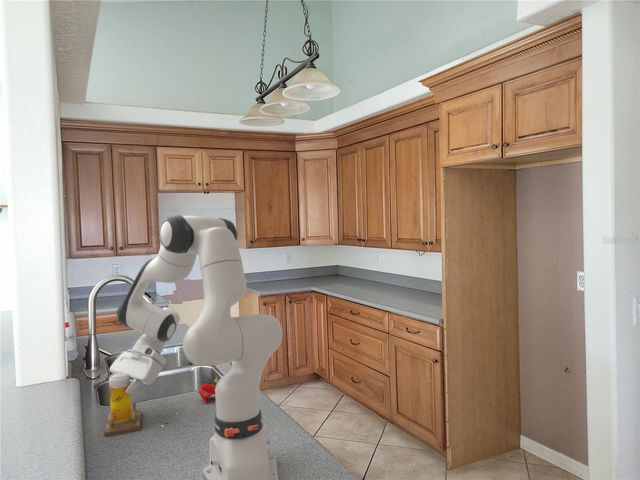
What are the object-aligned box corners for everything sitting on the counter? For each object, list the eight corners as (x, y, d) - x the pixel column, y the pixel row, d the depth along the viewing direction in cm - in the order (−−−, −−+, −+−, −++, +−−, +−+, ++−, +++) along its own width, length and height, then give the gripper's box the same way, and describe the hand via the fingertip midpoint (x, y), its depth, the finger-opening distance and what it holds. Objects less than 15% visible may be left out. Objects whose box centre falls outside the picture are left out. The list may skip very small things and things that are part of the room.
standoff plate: (140, 430, 146) (139, 413, 146) (104, 436, 143) (103, 419, 143) (140, 413, 160) (139, 398, 159) (108, 418, 156) (107, 403, 156)
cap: (199, 397, 164) (214, 386, 165) (194, 386, 168) (208, 376, 170) (210, 409, 168) (224, 399, 170) (205, 399, 173) (218, 389, 174)
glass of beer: (108, 421, 151) (105, 375, 150) (127, 415, 155) (125, 370, 155) (115, 427, 147) (112, 379, 146) (135, 420, 151) (132, 374, 150)
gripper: (120, 343, 162) (94, 380, 154) (157, 352, 150) (131, 392, 143) (133, 353, 166) (108, 389, 158) (170, 362, 154) (145, 402, 146)
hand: (119, 391), depth 150 cm, fingers closed on glass of beer, 6 cm apart
